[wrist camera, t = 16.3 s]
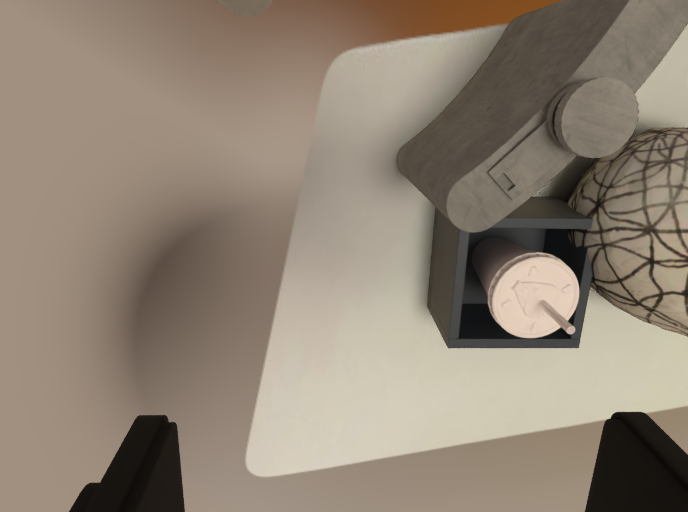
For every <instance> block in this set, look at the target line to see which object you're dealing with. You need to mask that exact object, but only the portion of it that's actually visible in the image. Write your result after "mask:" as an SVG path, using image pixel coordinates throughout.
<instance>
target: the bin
mask: <svg viewBox="0 0 688 512" xmlns="http://www.w3.org/2000/svg"><path fill="white" fill-rule="evenodd" d="M592 223H593V219H592V218H590V217H587V216H585V215H583V214H581V213H579V212H577V211H575V210H574V209H572V208H571V207H569V205H568V203H566V202H564V201H562V200H560V199H557V198H555V197H530V198H529V199H528V200H527V201H525V202H524V203H523V204H522V205H520V206H519V207H518V208H516V209H515V210H514V211H512V212H511V213H510V214H509V215H507V216H506V217H504V218H503V219H502V220H500V221H499V222H497V223H496V224H495V225H493V226H492V227H490V228H488V229H487V230H484V231H481V232H466V231H463V230H461V229H459V228H457V227H456V226H455V225H454V224H453V223H452V222H451V221H450V220H449V219H448V218H447V217H446V216H445V215H444V214H443V213H442V212H441V211H440V210H439V209H438V208H437V207H436V208H435V220H434V232H433V244H432V256H431V268H430V280H429V292H428V304H427V307H428V309H429V311H430V313H431V315H432V317H433V319H434V321H435V323H436V325H437V327H438V329H439V331H440V333H441V335H442V337H443V339H444V341H445V343H446V345H447V347H448V348H579V343H580V337H581V332H582V327H583V322H584V316H585V311H586V306H587V300H588V295H589V290H590V285H591V279H592V269H591V265H590V261H589V253H588V245H587V247H586V248H585V247H583V246H582V245H581V246H579V247H575V246H574V245H573V244H572V242H571V241H570V240H569V238H568V229H591V227H592ZM489 237H500V238H502V239H505V240H507V241H509V242H512V243H514V244H517V245H519V246H521V247H524V248H526V249H528V250H531V251H533V252H541V253H547V254H551V255H553V256H555V257H557V258H559V259H561V260H562V261H563V262H564V263H565V264H566V265H567V266H568V267H569V268H570V269H571V270H572V271H573V272H574V274H575V276H576V278H577V281H578V284H579V300H578V304H577V307H576V309H575V311H574V313H573V314H572V316H571V317H570V319H569V320H568V322H569V323H570V324H571V325H572V326H573V327H574V328H575V332H574V333H573V334H568V333H567V332H566V331H565V330H564V329H563V328H562V327H561V328H559V329H558V330H556V331H555V332H553V333H551V334H548V335H546V336H543V337H538V338H522V337H518V336H515V335H512V334H510V333H509V332H507V331H506V330H504V329H503V328H502V327H501V326H500V325H499V324H498V323H497V322H496V321H495V319H494V318H493V316H492V315H491V313H490V310H489V306H488V296H487V294H486V292H485V290H484V288H483V286H482V284H481V281H480V279H479V277H478V275H477V273H476V271H475V269H474V267H473V264H472V253H473V250H474V248H475V247H476V245H477V244H478V243H479V242H481V241H482V240H484V239H486V238H489Z"/></svg>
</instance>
